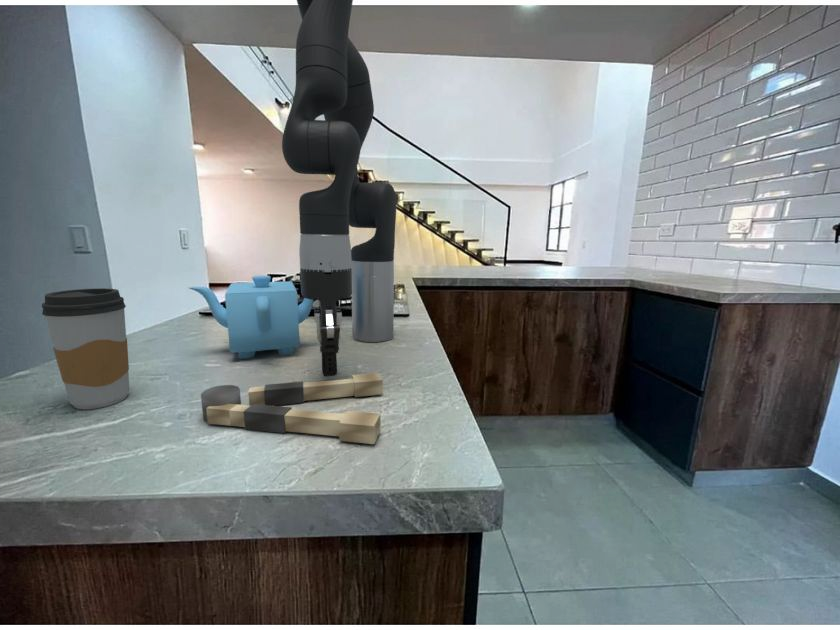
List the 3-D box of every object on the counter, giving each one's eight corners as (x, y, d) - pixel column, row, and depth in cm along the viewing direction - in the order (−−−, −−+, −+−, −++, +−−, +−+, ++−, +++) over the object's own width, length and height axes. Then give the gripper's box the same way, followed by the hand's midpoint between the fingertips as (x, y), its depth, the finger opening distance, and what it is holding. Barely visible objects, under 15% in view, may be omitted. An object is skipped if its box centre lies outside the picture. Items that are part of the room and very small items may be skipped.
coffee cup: (128, 383, 59) (114, 286, 55) (147, 398, 53) (131, 292, 50) (54, 400, 52) (33, 292, 49) (67, 420, 47) (44, 300, 44)
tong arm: (248, 408, 51) (247, 392, 50) (251, 399, 54) (250, 383, 53) (382, 395, 56) (382, 380, 55) (378, 387, 59) (378, 372, 58)
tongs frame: (186, 427, 46) (183, 402, 45) (218, 406, 52) (216, 383, 51) (373, 446, 43) (373, 420, 42) (386, 421, 49) (386, 397, 48)
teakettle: (267, 370, 65) (261, 284, 62) (190, 355, 72) (182, 277, 69) (333, 342, 82) (331, 274, 79) (266, 332, 89) (261, 268, 86)
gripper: (300, 262, 62) (304, 363, 66) (299, 270, 50) (305, 393, 54) (346, 261, 65) (348, 359, 68) (357, 269, 52) (358, 388, 56)
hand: (329, 374), depth 61 cm, fingers closed
